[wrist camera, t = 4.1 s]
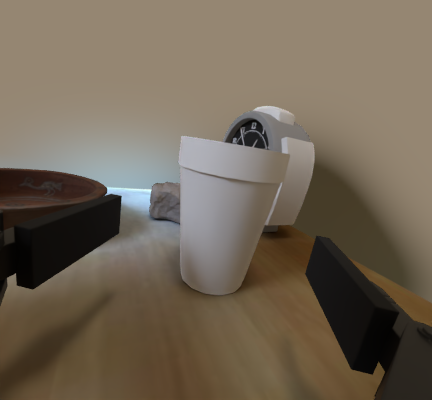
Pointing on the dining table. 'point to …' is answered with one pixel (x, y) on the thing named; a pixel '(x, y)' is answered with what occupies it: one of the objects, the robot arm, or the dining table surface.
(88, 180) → the dish
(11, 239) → the robot arm
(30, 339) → the dining table surface
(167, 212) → the stone
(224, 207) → the foam cup
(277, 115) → the alarm clock
